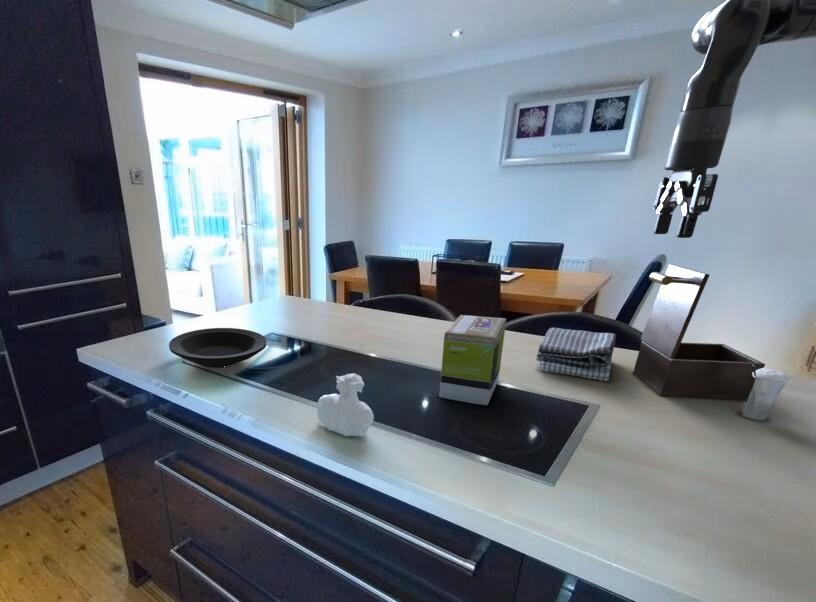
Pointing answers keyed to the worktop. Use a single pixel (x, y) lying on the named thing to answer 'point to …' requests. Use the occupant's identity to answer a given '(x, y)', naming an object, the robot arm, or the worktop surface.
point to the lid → (673, 307)
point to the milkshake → (763, 392)
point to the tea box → (472, 359)
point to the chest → (697, 371)
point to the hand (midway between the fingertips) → (671, 235)
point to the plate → (217, 346)
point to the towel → (577, 353)
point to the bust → (345, 408)
